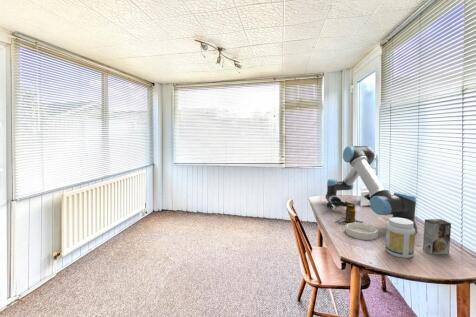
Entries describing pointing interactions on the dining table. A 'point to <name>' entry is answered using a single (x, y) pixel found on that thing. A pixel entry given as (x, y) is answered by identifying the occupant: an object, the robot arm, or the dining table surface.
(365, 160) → the robot arm
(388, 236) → the supplement tub
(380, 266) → the dining table surface
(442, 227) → the coffee box
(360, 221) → the grey square frame
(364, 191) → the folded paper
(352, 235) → the bowl
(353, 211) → the condiment
